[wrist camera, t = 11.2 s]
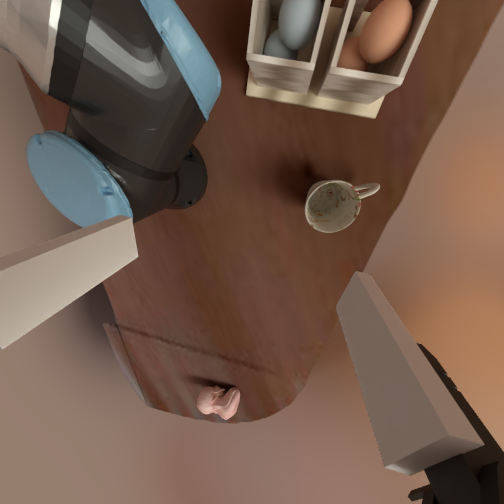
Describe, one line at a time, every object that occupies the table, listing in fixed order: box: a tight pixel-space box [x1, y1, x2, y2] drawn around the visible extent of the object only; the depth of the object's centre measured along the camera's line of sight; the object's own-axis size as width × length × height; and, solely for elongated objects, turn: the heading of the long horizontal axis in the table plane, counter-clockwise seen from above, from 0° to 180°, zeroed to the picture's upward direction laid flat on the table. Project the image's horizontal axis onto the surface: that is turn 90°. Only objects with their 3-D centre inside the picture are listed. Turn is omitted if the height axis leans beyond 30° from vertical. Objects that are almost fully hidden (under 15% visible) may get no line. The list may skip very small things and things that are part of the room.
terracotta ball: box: [359, 0, 413, 64], centre depth 21 cm, size 5×5×5 cm
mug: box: [305, 180, 380, 232], centre depth 33 cm, size 8×13×10 cm, turn 114°
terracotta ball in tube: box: [336, 36, 369, 72], centre depth 26 cm, size 5×5×5 cm
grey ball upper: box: [278, 0, 321, 50], centre depth 22 cm, size 5×5×5 cm
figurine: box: [197, 385, 240, 420], centre depth 78 cm, size 11×12×18 cm
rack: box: [246, 0, 438, 119], centre depth 24 cm, size 22×11×11 cm, turn 80°
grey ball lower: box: [263, 29, 298, 61], centre depth 27 cm, size 5×5×5 cm
